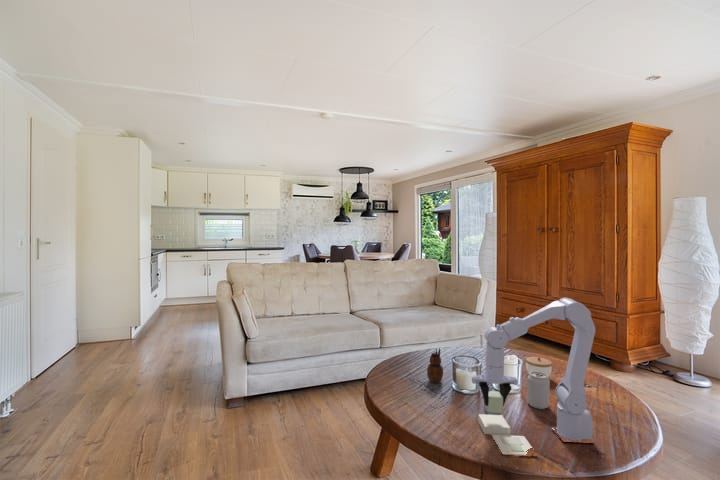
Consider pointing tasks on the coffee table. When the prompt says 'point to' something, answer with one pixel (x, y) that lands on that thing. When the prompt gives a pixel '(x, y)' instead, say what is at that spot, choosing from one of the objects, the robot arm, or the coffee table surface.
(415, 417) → the coffee table surface
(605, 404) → the coffee table surface
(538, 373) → the can
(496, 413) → the slate block
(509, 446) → the tile
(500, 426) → the white square slab
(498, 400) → the sage block
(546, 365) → the lidded jar
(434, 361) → the wooden figurine
